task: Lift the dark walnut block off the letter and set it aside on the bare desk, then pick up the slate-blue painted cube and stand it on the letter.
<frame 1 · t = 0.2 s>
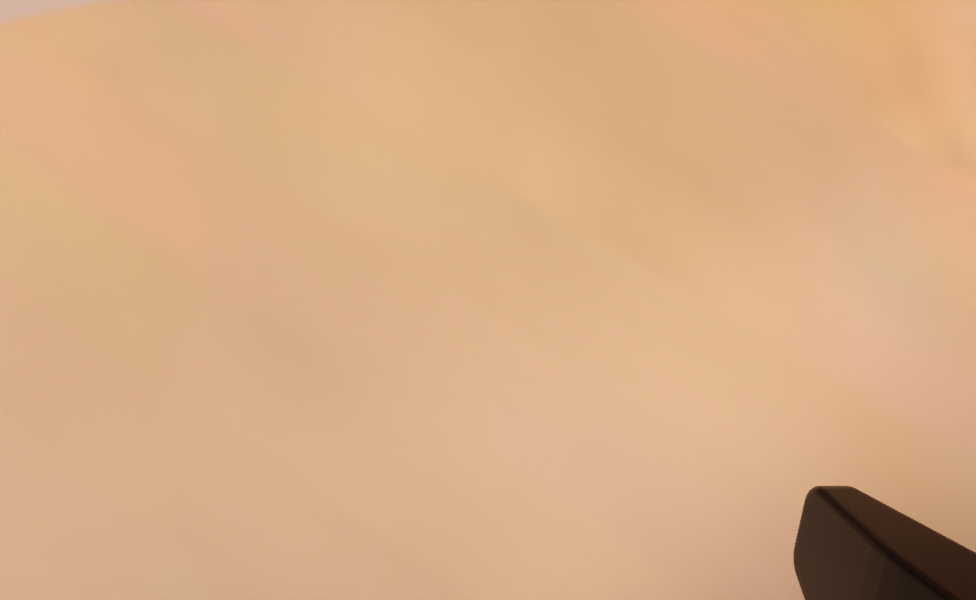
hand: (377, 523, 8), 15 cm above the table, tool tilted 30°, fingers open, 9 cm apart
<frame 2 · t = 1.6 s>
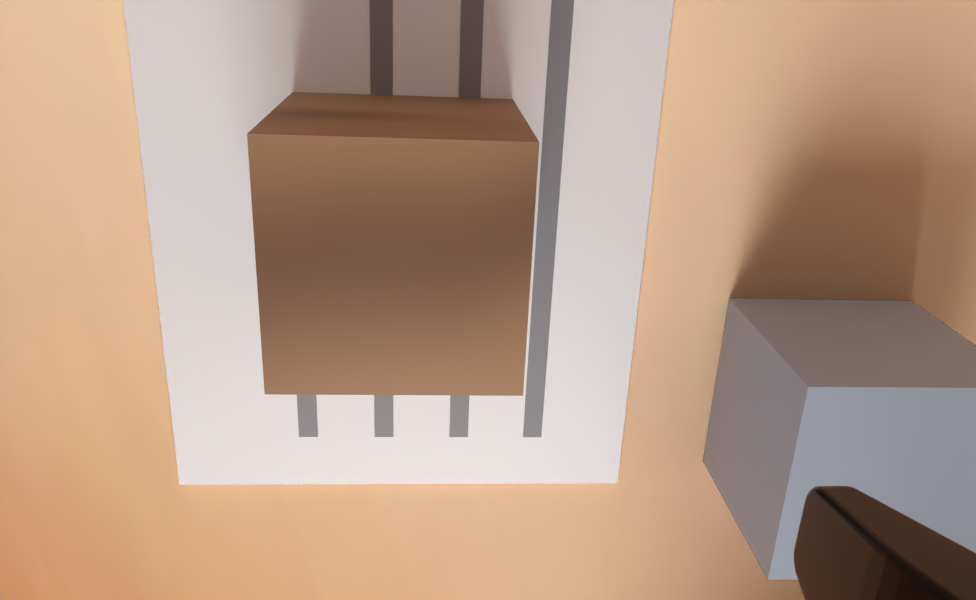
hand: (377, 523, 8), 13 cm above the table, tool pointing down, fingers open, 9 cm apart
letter: (403, 198, 20), on the table
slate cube: (802, 382, 23), on the table
walnut block: (403, 202, 20), resting on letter
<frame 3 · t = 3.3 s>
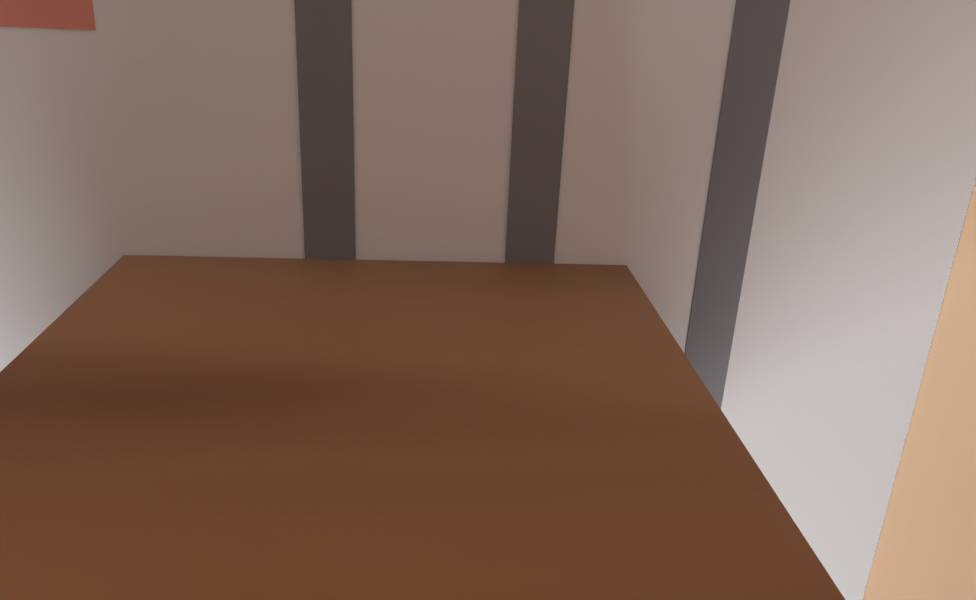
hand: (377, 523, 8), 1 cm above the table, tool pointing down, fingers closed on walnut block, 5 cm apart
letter: (383, 456, 9), on the table
walnut block: (381, 472, 9), resting on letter, touching gripper
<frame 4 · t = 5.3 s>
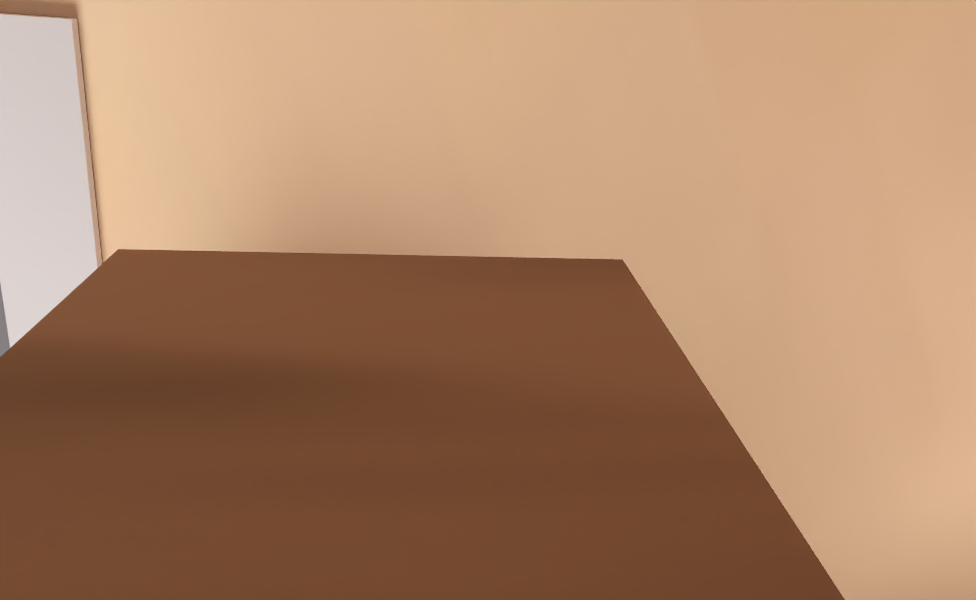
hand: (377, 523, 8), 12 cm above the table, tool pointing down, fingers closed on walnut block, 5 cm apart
walnut block: (377, 467, 9), point 11 cm above the table, touching gripper
when the fingers open (2 cm above the table, at t = 7.7 s): walnut block drops 1 cm, on the table.
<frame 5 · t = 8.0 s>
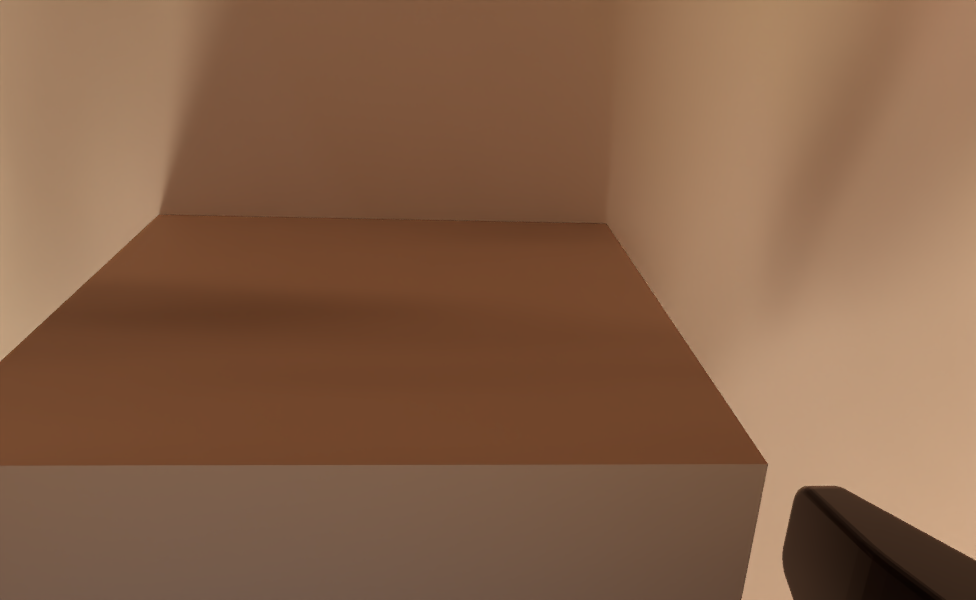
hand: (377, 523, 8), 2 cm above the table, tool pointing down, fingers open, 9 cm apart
walnut block: (388, 410, 10), on the table
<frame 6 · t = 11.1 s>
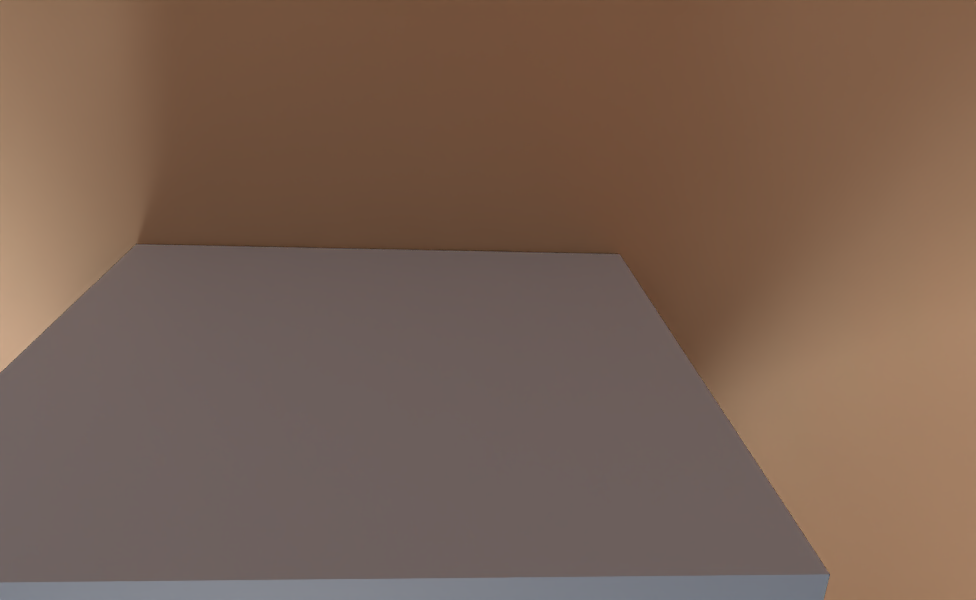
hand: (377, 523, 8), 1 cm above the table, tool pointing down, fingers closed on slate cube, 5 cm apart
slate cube: (384, 454, 10), on the table, touching gripper
when the fingers open (2 cm above the table, at t = 15.5 s): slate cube stays where it is, resting on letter.
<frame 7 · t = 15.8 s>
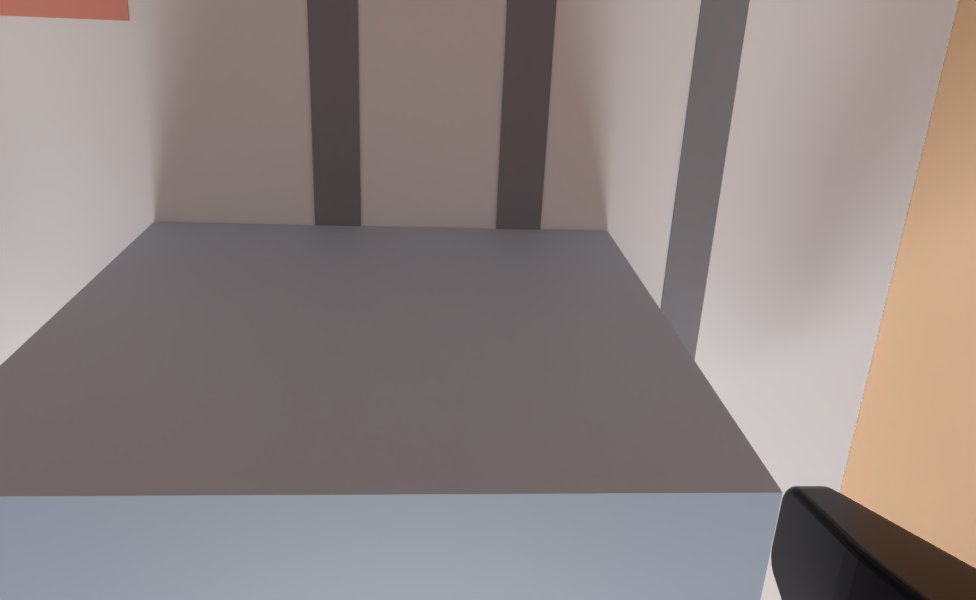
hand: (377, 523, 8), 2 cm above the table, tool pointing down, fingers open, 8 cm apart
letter: (385, 412, 10), on the table
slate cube: (386, 423, 10), resting on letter
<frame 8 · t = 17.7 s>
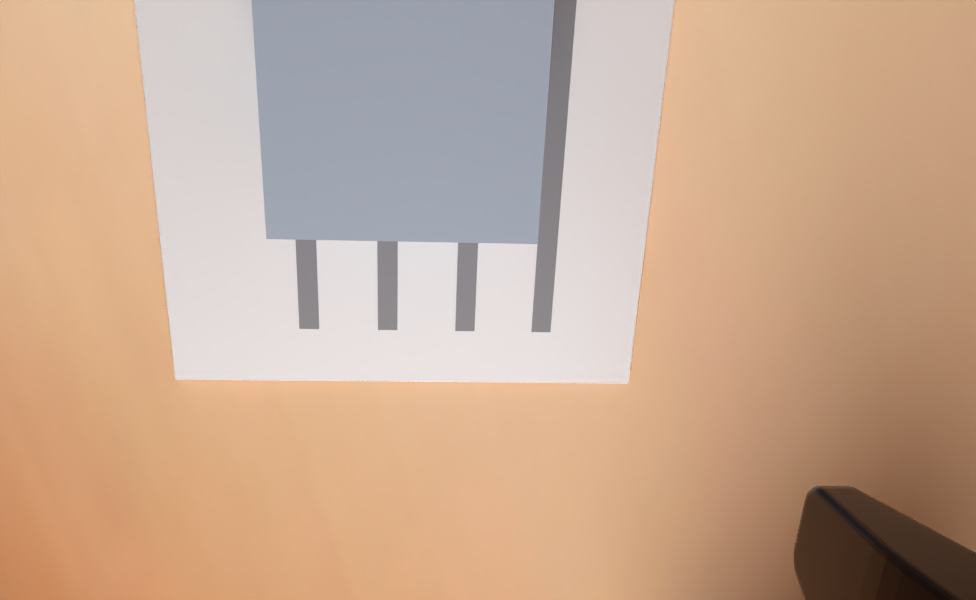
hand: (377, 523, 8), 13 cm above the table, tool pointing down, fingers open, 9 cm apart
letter: (409, 70, 19), on the table
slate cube: (410, 70, 19), resting on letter
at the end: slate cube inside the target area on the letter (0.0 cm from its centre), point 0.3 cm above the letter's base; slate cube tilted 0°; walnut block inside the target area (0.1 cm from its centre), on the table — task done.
